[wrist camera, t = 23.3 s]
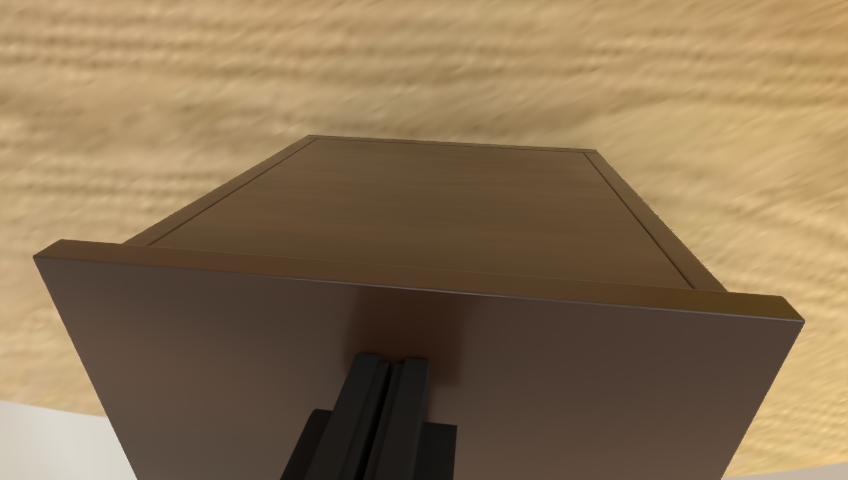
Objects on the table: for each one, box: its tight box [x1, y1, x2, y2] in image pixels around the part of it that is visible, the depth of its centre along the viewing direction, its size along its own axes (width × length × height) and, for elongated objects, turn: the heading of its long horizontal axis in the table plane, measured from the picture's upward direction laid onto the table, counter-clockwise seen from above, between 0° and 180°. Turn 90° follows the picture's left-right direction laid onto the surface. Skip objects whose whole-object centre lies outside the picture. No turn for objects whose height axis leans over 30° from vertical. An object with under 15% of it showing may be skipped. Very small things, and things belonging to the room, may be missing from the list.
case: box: [122, 135, 728, 292], centre depth 21 cm, size 15×16×15 cm
